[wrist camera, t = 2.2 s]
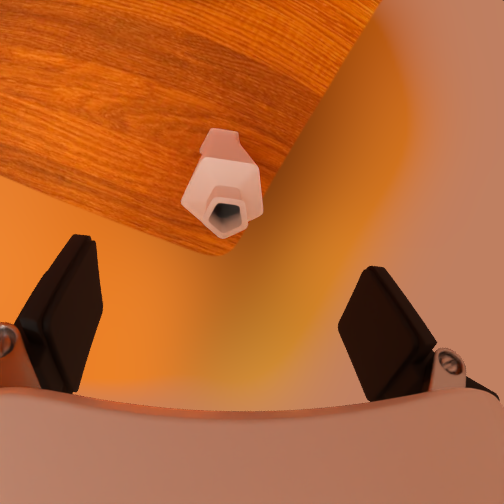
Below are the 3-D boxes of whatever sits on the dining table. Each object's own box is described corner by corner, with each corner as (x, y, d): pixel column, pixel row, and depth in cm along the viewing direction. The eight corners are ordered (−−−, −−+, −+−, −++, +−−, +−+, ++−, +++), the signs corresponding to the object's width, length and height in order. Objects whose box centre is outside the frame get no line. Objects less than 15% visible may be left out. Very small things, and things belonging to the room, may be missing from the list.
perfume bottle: (232, 179, 28) (246, 272, 16) (190, 159, 27) (166, 240, 14) (256, 137, 26) (295, 199, 14) (213, 116, 25) (209, 155, 12)
